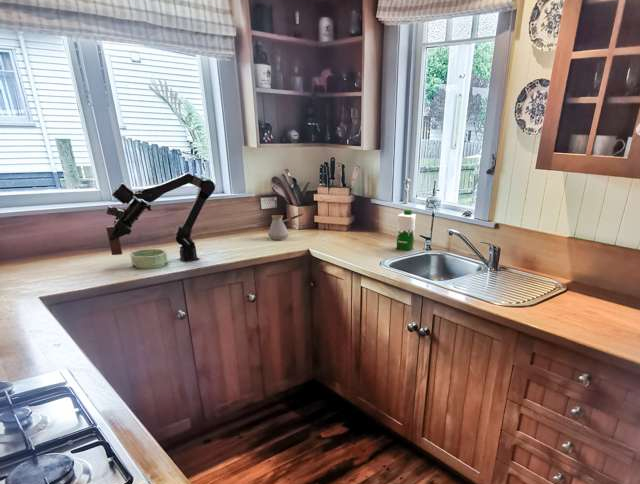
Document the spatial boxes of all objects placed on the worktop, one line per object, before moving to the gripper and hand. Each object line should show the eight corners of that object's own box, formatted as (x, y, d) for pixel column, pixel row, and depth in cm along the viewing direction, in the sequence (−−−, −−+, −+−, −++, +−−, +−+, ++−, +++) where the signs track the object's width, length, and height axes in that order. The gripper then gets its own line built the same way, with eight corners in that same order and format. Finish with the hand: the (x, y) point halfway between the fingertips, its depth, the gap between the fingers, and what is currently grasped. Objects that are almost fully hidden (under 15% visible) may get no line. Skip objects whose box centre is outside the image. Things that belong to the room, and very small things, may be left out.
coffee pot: (264, 240, 260) (263, 212, 254) (273, 236, 270) (271, 209, 264) (301, 243, 256) (300, 215, 250) (308, 238, 267) (307, 212, 260)
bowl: (157, 258, 219) (155, 247, 216) (174, 264, 211) (172, 252, 208) (126, 264, 208) (123, 252, 206) (142, 271, 200) (140, 258, 198)
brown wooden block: (122, 252, 207) (116, 225, 202) (122, 254, 204) (116, 226, 199) (112, 253, 205) (106, 225, 200) (112, 255, 202) (106, 227, 197)
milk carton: (414, 247, 255) (417, 210, 247) (409, 251, 247) (412, 212, 239) (399, 245, 258) (401, 208, 249) (394, 249, 250) (396, 211, 242)
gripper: (115, 195, 204) (93, 222, 204) (116, 201, 189) (91, 231, 189) (139, 212, 211) (116, 239, 211) (141, 220, 196) (117, 248, 196)
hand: (110, 239), depth 201 cm, fingers closed on brown wooden block, 4 cm apart
